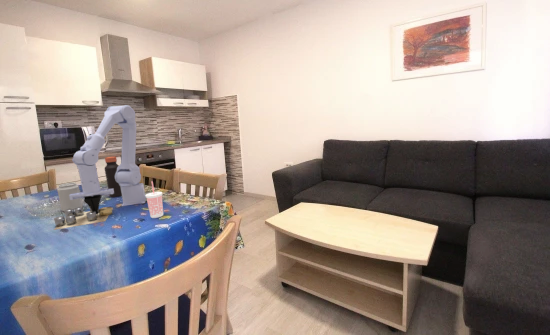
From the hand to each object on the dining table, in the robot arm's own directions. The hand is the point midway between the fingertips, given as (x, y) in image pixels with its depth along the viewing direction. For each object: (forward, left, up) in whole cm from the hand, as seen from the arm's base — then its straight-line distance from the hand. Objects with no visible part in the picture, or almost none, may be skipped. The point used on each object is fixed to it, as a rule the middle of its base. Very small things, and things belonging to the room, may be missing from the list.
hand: (96, 213), depth 106 cm
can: (+12, -17, -2) cm, 21 cm away
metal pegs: (+5, 0, -1) cm, 6 cm away
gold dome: (-3, 0, -1) cm, 3 cm away
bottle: (-3, -33, -2) cm, 33 cm away
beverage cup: (-23, +11, -2) cm, 25 cm away
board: (+3, 0, -2) cm, 4 cm away
